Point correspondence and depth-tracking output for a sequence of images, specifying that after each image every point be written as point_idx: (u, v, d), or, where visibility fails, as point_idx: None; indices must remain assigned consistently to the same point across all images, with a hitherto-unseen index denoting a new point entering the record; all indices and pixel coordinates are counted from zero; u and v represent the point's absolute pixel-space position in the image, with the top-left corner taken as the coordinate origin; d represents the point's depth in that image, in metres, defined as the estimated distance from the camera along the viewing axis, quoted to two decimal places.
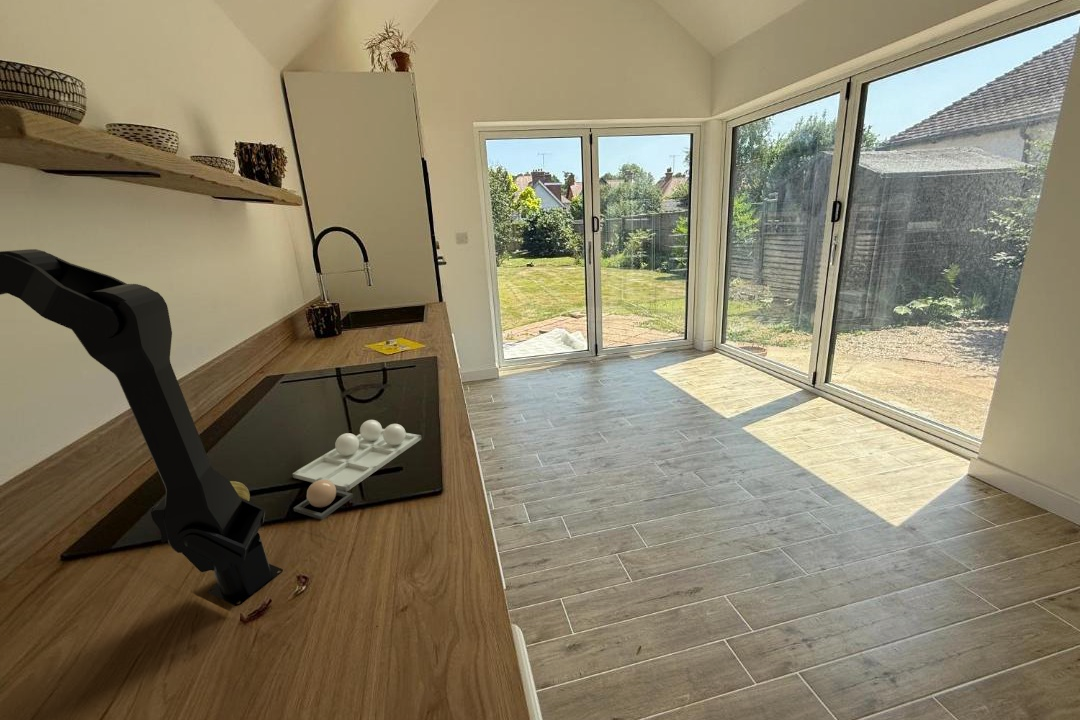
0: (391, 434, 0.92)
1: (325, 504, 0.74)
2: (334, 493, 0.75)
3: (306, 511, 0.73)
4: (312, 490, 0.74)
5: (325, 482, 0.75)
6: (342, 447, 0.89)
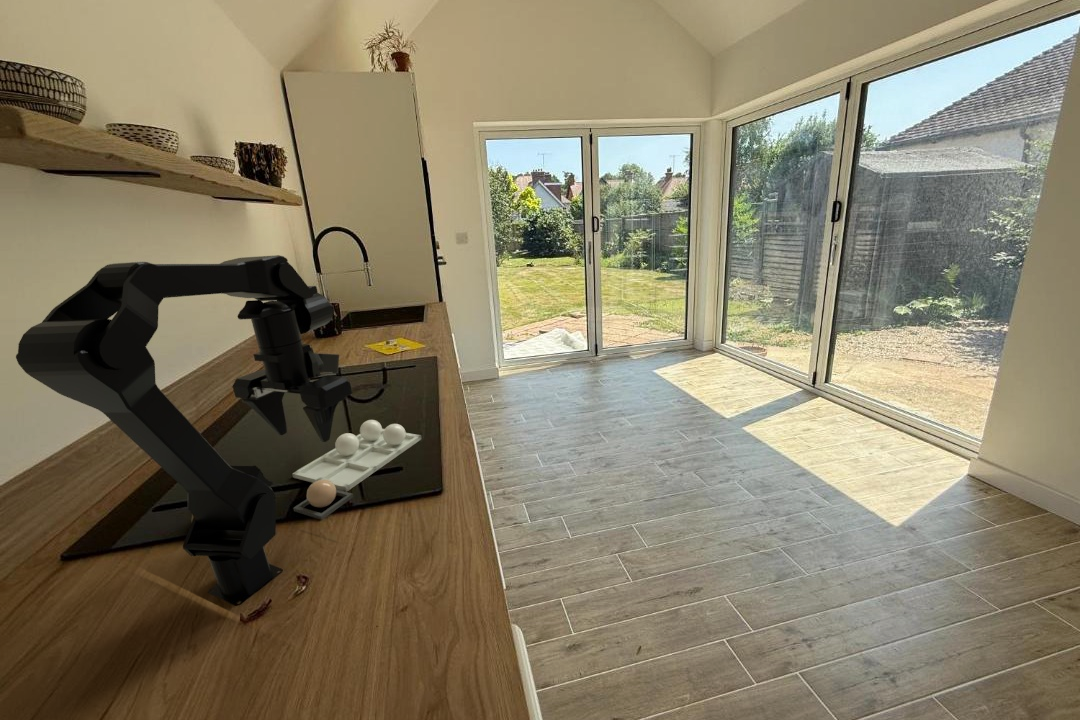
0: (391, 434, 0.92)
1: (325, 504, 0.74)
2: (334, 493, 0.75)
3: (306, 511, 0.73)
4: (312, 490, 0.74)
5: (325, 482, 0.75)
6: (342, 447, 0.89)
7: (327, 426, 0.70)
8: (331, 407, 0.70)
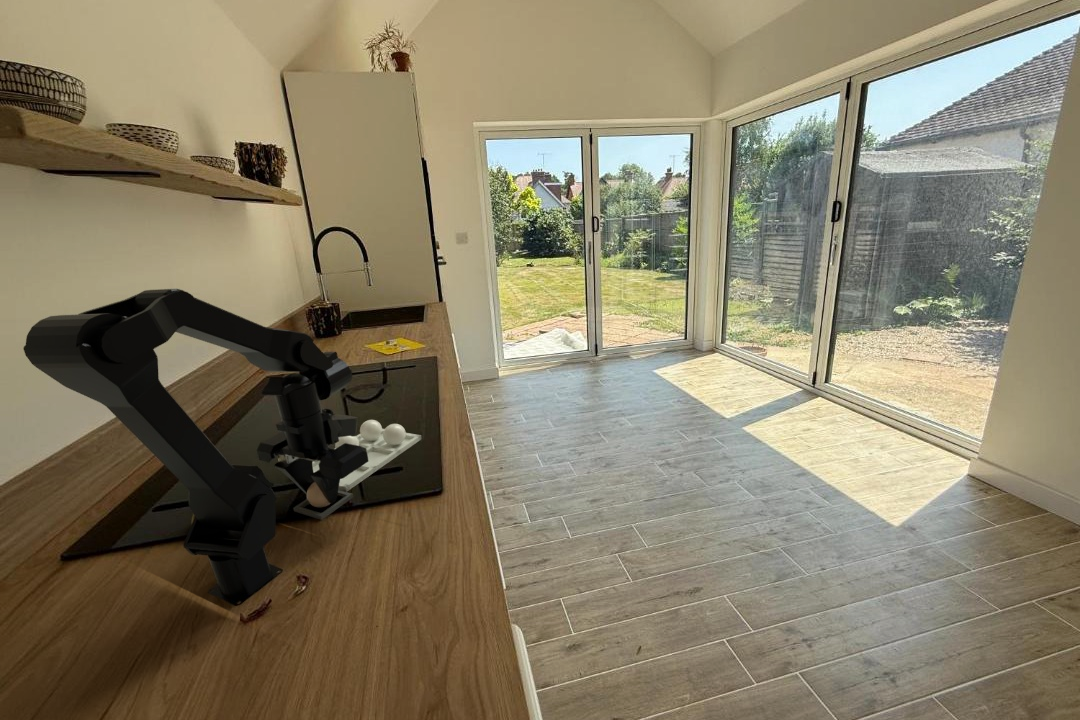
0: (391, 434, 0.92)
1: (325, 504, 0.74)
2: None
3: (306, 511, 0.73)
4: (312, 490, 0.74)
5: None
6: None
7: (334, 489, 0.74)
8: None
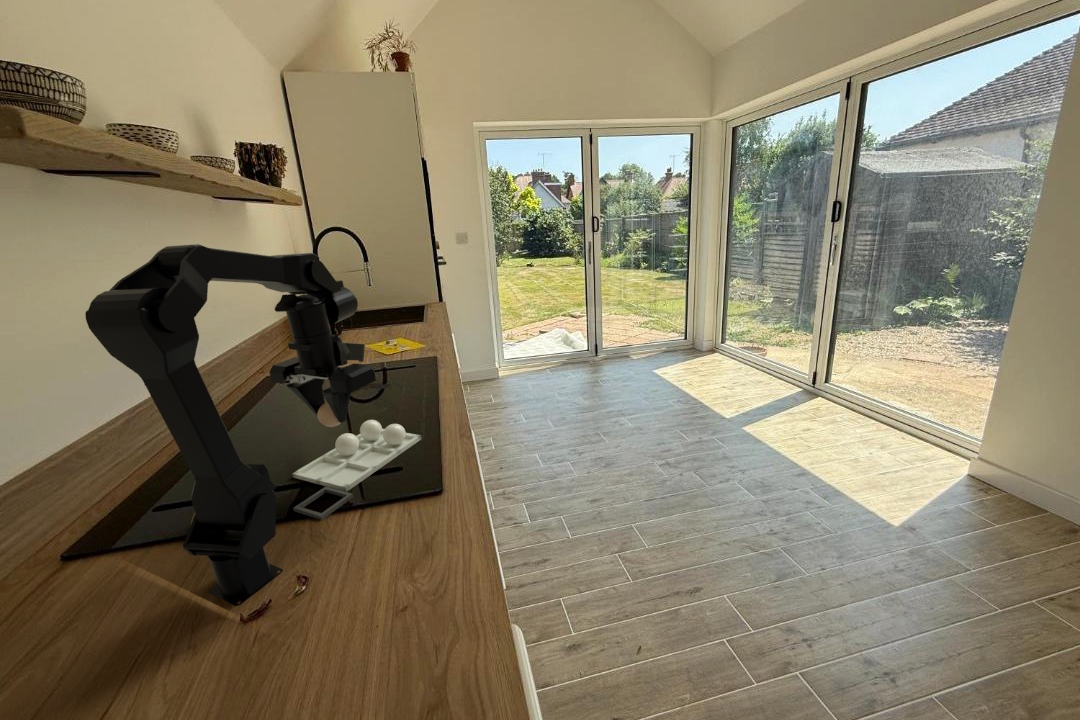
0: (391, 434, 0.92)
1: (335, 423, 0.78)
2: None
3: (306, 511, 0.73)
4: (323, 409, 0.77)
5: None
6: (342, 447, 0.89)
7: (343, 408, 0.77)
8: None
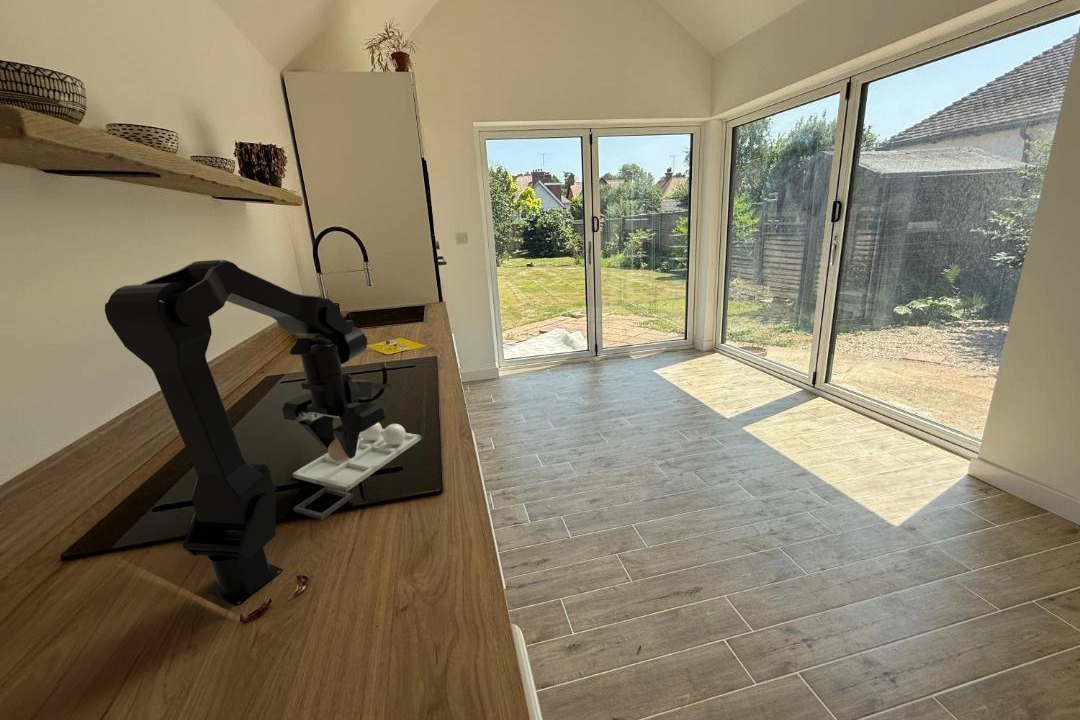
0: (391, 434, 0.92)
1: (345, 459, 0.81)
2: None
3: (306, 511, 0.73)
4: (333, 445, 0.80)
5: None
6: None
7: (353, 445, 0.80)
8: None
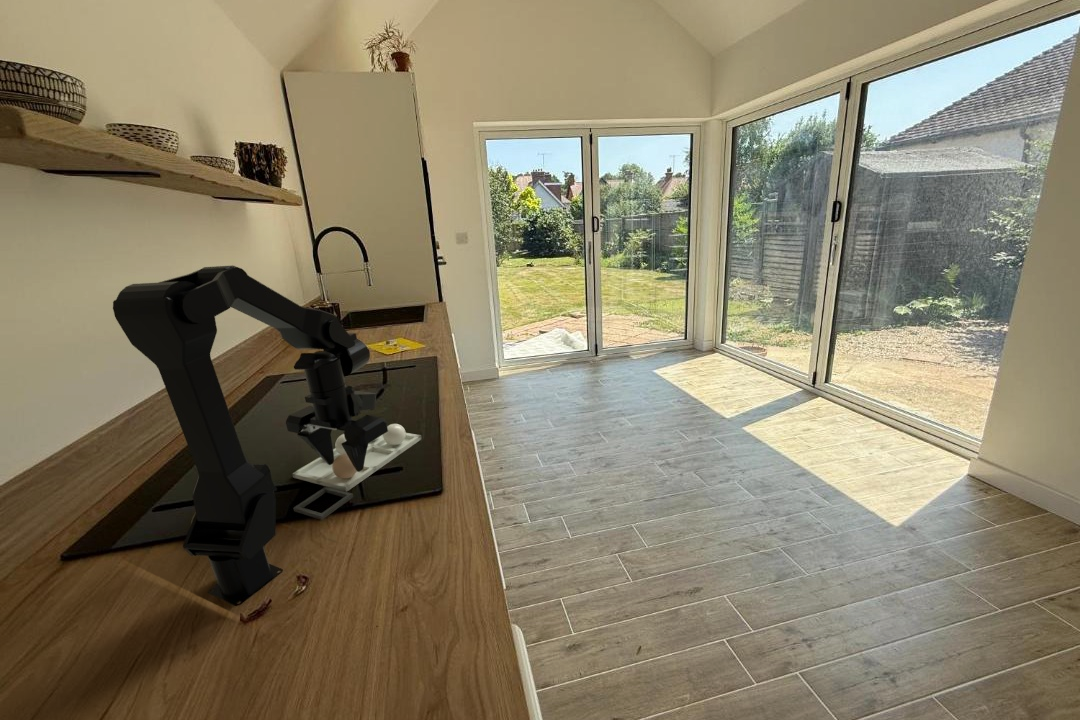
0: (391, 434, 0.92)
1: (349, 475, 0.82)
2: None
3: (306, 511, 0.73)
4: (337, 462, 0.81)
5: None
6: (342, 447, 0.89)
7: (361, 458, 0.81)
8: None
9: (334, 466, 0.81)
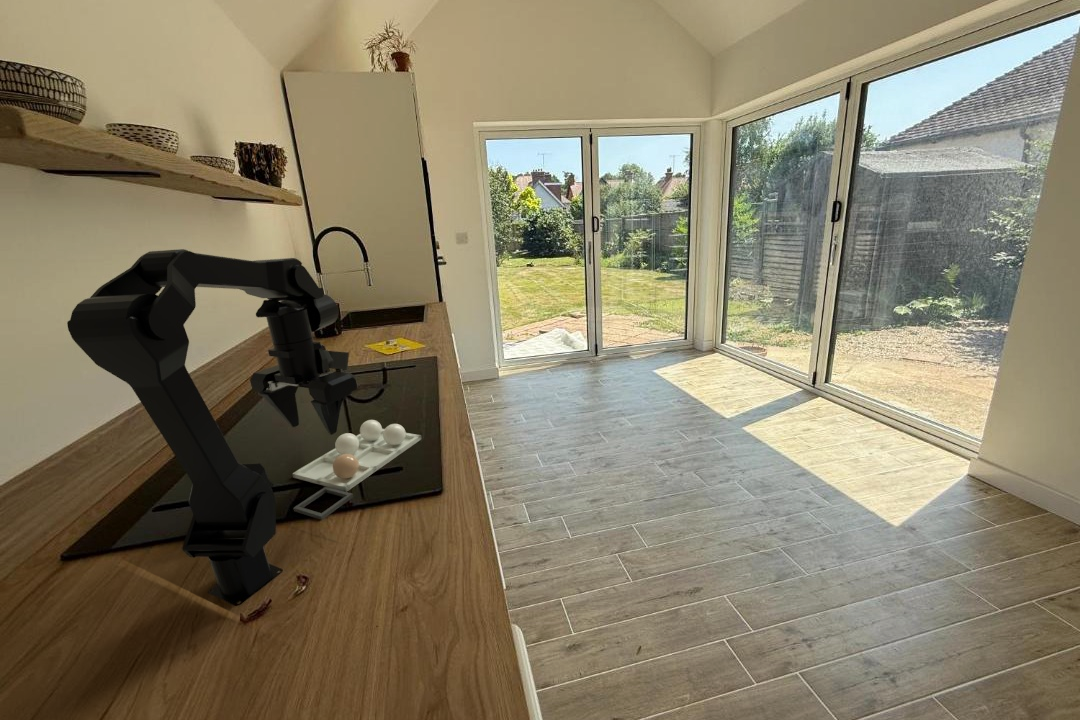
0: (391, 434, 0.92)
1: (349, 476, 0.82)
2: (357, 466, 0.83)
3: (306, 511, 0.73)
4: (338, 462, 0.81)
5: (349, 455, 0.83)
6: (342, 447, 0.89)
7: (334, 419, 0.74)
8: (338, 401, 0.74)
9: (334, 466, 0.81)
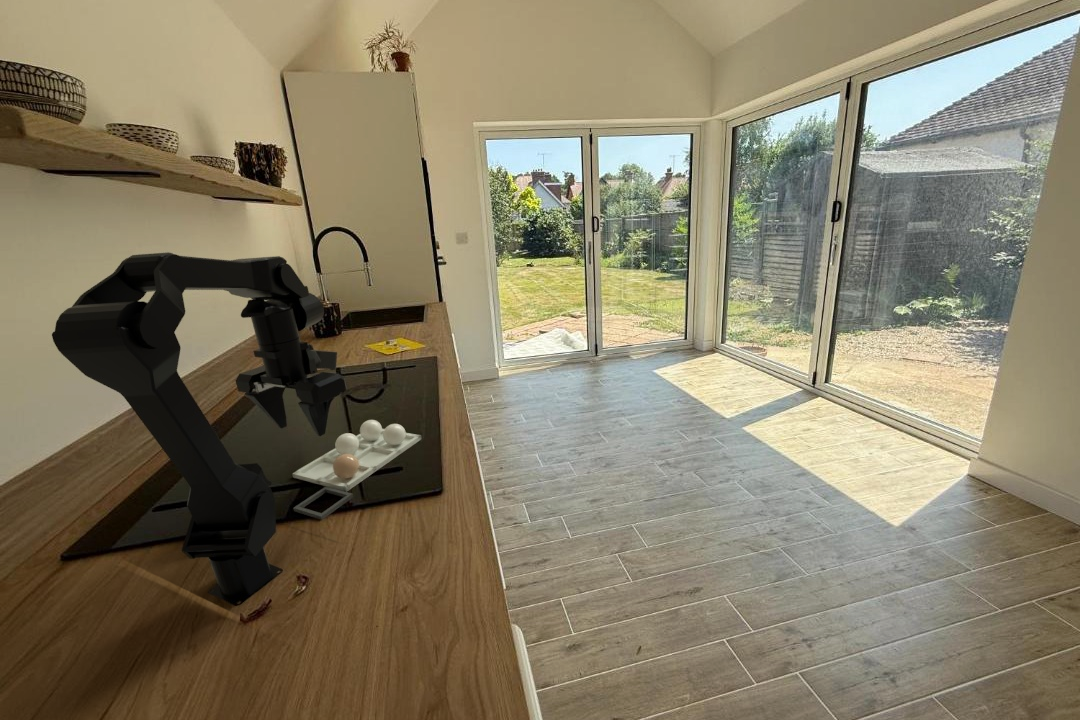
0: (391, 434, 0.92)
1: (349, 476, 0.82)
2: (357, 466, 0.83)
3: (306, 511, 0.73)
4: (338, 463, 0.81)
5: (350, 456, 0.83)
6: (342, 447, 0.89)
7: (322, 421, 0.73)
8: (326, 403, 0.72)
9: (335, 466, 0.81)
